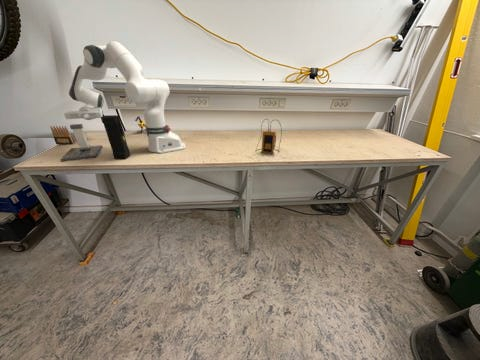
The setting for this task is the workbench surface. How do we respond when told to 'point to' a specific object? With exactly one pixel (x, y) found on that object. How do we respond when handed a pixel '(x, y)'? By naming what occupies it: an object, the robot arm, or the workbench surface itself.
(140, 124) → the robot dog
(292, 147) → the workbench surface
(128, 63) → the robot arm
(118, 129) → the portable radio
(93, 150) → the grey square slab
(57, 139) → the ammunition clip
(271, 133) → the multimeter
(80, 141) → the fader tab
